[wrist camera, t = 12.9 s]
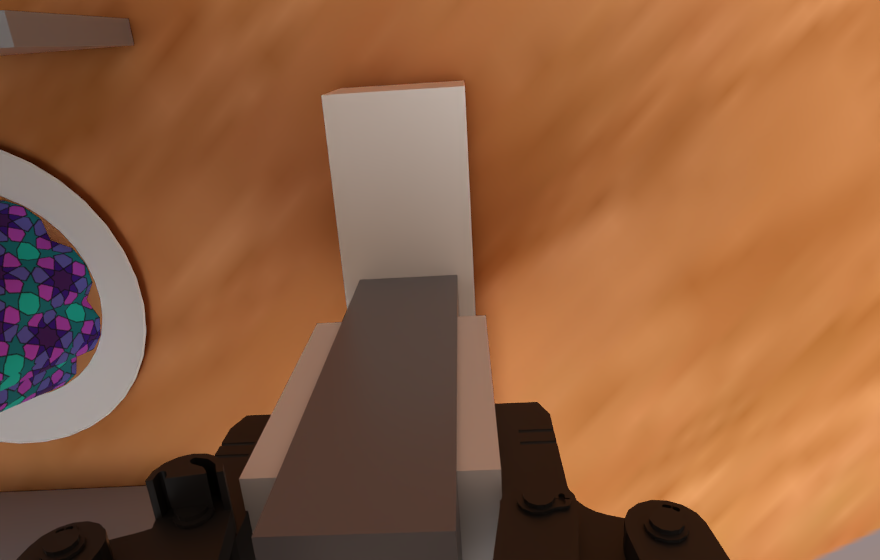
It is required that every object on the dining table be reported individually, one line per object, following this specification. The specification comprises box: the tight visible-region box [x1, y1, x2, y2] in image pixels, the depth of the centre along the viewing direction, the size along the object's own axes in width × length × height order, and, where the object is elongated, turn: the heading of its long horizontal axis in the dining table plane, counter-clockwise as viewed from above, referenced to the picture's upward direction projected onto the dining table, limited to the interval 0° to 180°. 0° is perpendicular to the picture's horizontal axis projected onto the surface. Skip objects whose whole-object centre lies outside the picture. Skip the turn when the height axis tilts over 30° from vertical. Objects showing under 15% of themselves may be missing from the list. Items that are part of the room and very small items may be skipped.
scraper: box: [251, 80, 476, 560], centre depth 16 cm, size 14×4×14 cm, turn 4°
